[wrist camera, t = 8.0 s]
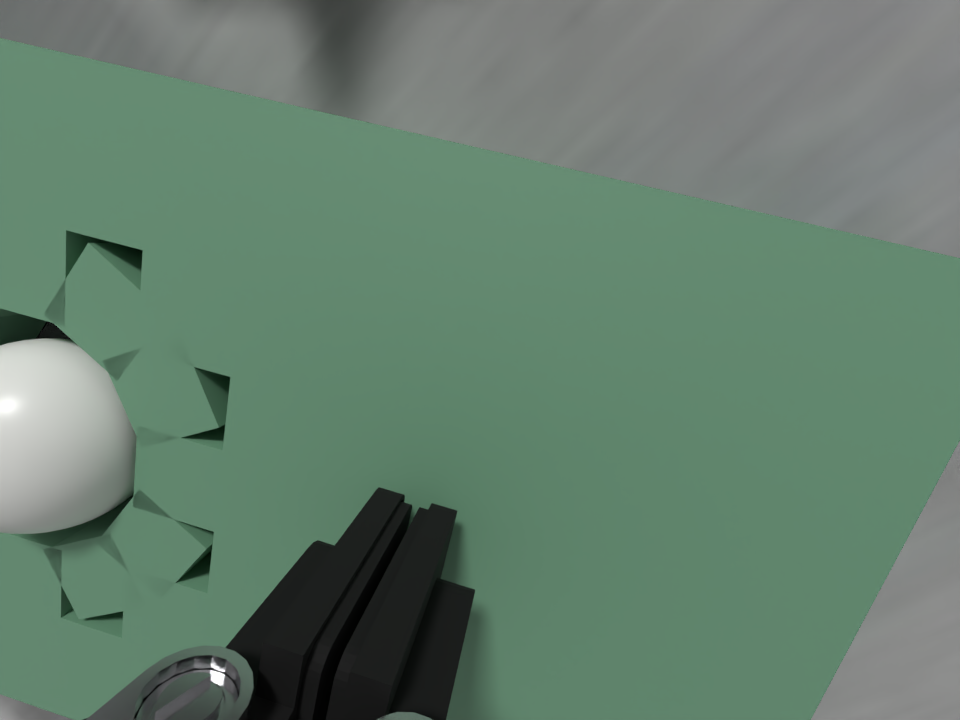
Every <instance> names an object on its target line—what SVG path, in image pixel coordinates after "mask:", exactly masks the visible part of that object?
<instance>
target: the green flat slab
mask: <svg viewBox="0 0 960 720" xmlns="http://www.w3.org/2000/svg"><path fill="white" fill-rule="evenodd" d="M47 321H48V322H51V323H54V324H55V325H56V326H57V327H58V328H59V329H60V330H62V331H63V332H64V333H65V334H66V335H67V336H68V337H69V338H70V339H72V340H73V341H74V342H75V343H76V344H77V345H78V346H79V347H80V348H82V349H83V350H84V351H85V352H86V353H87V354H88V355H89V356H90V357H91V358H93V359H94V360H95V361H96V362H97V363H98V364H99V365H100V366H101V367H103V368H104V369H105V370H106V371H107V372H108V374H109V376H110V378H111V380H112V383H113V385H114V387H115V389H116V392H117V394H118V396H119V398H120V400H121V403H122V405H123V407H124V409H125V412H126V414H127V416H128V418H129V421H130V423H131V425H132V427H133V429H134V432H135V434H136V436H137V442H136V460H135V478H134V494H133V495H131V496H130V497H129V498H128V499H127V500H125V501H124V502H123V503H121V504H120V505H118V506H117V507H115V508H114V509H112V510H110V511H109V512H107V513H105V514H103V515H101V516H99V517H97V518H95V519H93V520H90V521H88V522H85V523H83V524H80V525H77V526H73V527H70V528H66V529H61V530H56V531H51V532H45V533H36V534H10V533H0V694H1V695H4V696H7V697H10V698H13V699H16V700H19V701H21V702H24V703H27V704H30V705H33V706H36V707H39V708H42V709H44V710H47V711H50V712H53V713H56V714H59V715H62V716H65V717H67V718H70V719H73V720H83V719H86V718H89V717H90V716H91V715H92V714H93V713H95V712H96V711H97V710H98V709H99V708H101V707H102V706H103V705H104V704H105V703H107V702H108V701H109V700H110V699H111V698H113V697H114V696H115V695H116V694H117V693H119V692H120V691H121V690H122V689H123V688H125V687H126V686H127V685H128V684H129V683H131V682H132V681H133V680H134V679H135V678H137V677H138V676H139V675H140V674H141V673H143V672H144V671H145V670H146V669H148V668H149V667H151V666H152V665H154V664H155V663H157V662H158V661H160V660H161V659H163V658H164V657H166V656H169V655H171V654H173V653H176V652H178V651H181V650H183V649H187V648H193V647H198V646H221V647H224V648H225V647H226V646H227V645H228V644H229V643H230V641H231V640H232V639H233V638H234V637H235V635H236V634H237V633H238V632H239V630H240V629H241V628H242V627H243V626H244V624H245V623H246V622H247V621H248V620H249V618H250V617H251V616H252V615H253V614H254V612H255V611H256V610H257V609H258V608H259V606H260V605H261V604H262V603H263V602H264V600H265V599H266V598H267V597H268V596H269V594H270V593H271V592H272V591H273V590H274V588H275V587H276V586H277V585H278V583H279V582H280V581H281V580H282V579H283V577H284V576H285V575H286V574H287V573H288V571H289V570H290V569H291V568H292V567H293V565H294V564H295V563H296V562H297V561H298V559H299V558H300V557H301V556H302V555H303V553H304V552H305V551H306V550H307V549H308V547H309V546H310V545H311V544H312V543H313V542H315V541H317V540H319V541H322V542H325V543H328V544H332V545H335V544H336V543H337V542H338V540H339V539H340V538H341V536H342V535H343V534H344V532H345V531H346V530H347V528H348V527H349V526H350V524H351V523H352V521H353V520H354V519H355V517H356V516H357V515H358V513H359V512H360V511H361V509H362V508H363V507H364V505H365V504H366V503H367V501H368V500H369V499H370V497H371V496H372V495H373V493H374V492H375V491H376V489H377V488H378V487H380V488H384V489H387V490H390V491H394V492H397V493H400V494H404V495H405V501H404V502H405V503H408V504H411V505H412V511H411V516H410V520H409V524H408V528H409V526H410V524H411V522H412V520H413V518H414V516H415V514H416V512H417V511H418V509H419V507H421V508H425V509H429V507H430V505H431V503H434V504H437V505H440V506H444V507H447V508H450V509H454V510H457V515H456V520H455V524H454V528H453V531H452V535H451V539H450V543H449V547H448V551H447V555H446V559H445V563H444V567H443V571H442V575H441V579H443V580H446V581H449V582H452V583H456V584H459V585H462V586H465V587H468V588H472V589H475V594H474V599H473V603H472V608H471V612H470V616H469V621H468V625H467V630H466V634H465V638H464V643H463V647H462V652H461V656H460V660H459V665H458V669H457V674H456V678H455V682H454V687H453V691H452V696H451V700H450V704H449V709H448V713H447V718H446V720H811V718H812V716H813V714H814V712H815V710H816V709H817V707H818V705H819V703H820V701H821V699H822V697H823V695H824V694H825V692H826V690H827V688H828V686H829V684H830V682H831V680H832V679H833V677H834V675H835V673H836V671H837V669H838V667H839V666H840V664H841V662H842V660H843V658H844V656H845V654H846V652H847V651H848V649H849V647H850V645H851V643H852V641H853V639H854V637H855V636H856V634H857V632H858V630H859V628H860V626H861V624H862V622H863V621H864V619H865V617H866V615H867V613H868V611H869V609H870V607H871V606H872V604H873V602H874V600H875V598H876V596H877V594H878V592H879V591H880V589H881V587H882V585H883V583H884V581H885V579H886V577H887V576H888V574H889V572H890V570H891V568H892V566H893V564H894V563H895V561H896V559H897V557H898V555H899V553H900V551H901V549H902V548H903V546H904V544H905V542H906V540H907V538H908V536H909V534H910V533H911V531H912V529H913V527H914V525H915V523H916V521H917V519H918V518H919V516H920V514H921V512H922V510H923V508H924V506H925V504H926V503H927V501H928V499H929V497H930V495H931V493H932V491H933V489H934V488H935V486H936V484H937V482H938V480H939V478H940V476H941V474H942V473H943V471H944V469H945V467H946V465H947V463H948V461H949V460H950V458H951V456H952V454H953V452H954V450H955V448H956V446H957V445H958V443H959V441H960V258H956V257H952V256H947V255H943V254H939V253H934V252H930V251H926V250H921V249H917V248H913V247H908V246H904V245H900V244H895V243H891V242H886V241H882V240H878V239H873V238H869V237H865V236H860V235H856V234H852V233H847V232H843V231H839V230H834V229H830V228H825V227H821V226H817V225H812V224H808V223H804V222H799V221H795V220H791V219H786V218H782V217H777V216H773V215H769V214H764V213H760V212H756V211H751V210H747V209H743V208H738V207H734V206H730V205H725V204H721V203H716V202H712V201H708V200H703V199H699V198H695V197H690V196H686V195H682V194H677V193H673V192H669V191H664V190H660V189H655V188H651V187H647V186H642V185H638V184H634V183H629V182H625V181H621V180H616V179H612V178H607V177H603V176H599V175H594V174H590V173H586V172H581V171H577V170H573V169H568V168H564V167H560V166H555V165H551V164H546V163H542V162H538V161H533V160H529V159H525V158H520V157H516V156H512V155H507V154H503V153H498V152H494V151H490V150H485V149H481V148H477V147H472V146H468V145H464V144H459V143H455V142H451V141H446V140H442V139H437V138H433V137H429V136H424V135H420V134H416V133H411V132H407V131H403V130H398V129H394V128H390V127H385V126H381V125H376V124H372V123H368V122H363V121H359V120H355V119H350V118H346V117H342V116H337V115H333V114H328V113H324V112H320V111H315V110H311V109H307V108H302V107H298V106H294V105H289V104H285V103H281V102H276V101H272V100H267V99H263V98H259V97H254V96H250V95H246V94H241V93H237V92H233V91H228V90H224V89H219V88H215V87H211V86H206V85H202V84H198V83H193V82H189V81H185V80H180V79H176V78H172V77H167V76H163V75H158V74H154V73H150V72H145V71H141V70H137V69H132V68H128V67H124V66H119V65H115V64H111V63H106V62H102V61H97V60H93V59H89V58H84V57H80V56H76V55H71V54H67V53H63V52H58V51H54V50H49V49H45V48H41V47H36V46H32V45H28V44H23V43H19V42H15V41H10V40H6V39H2V38H0V345H3V344H7V343H12V342H17V341H22V340H31V339H36V338H37V336H38V334H39V333H40V331H41V330H42V328H43V327H44V325H45V323H46V322H47ZM407 530H408V529H407Z"/></svg>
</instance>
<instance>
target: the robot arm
mask: <svg viewBox="0 0 960 720" xmlns="http://www.w3.org/2000/svg"><path fill="white" fill-rule="evenodd" d="M404 501H405V495H404V494H400V493H397V492H394V491H390V490H387V489H384V488H380V487H378V488H377V489H376V491H375V492H374V493H373V495H372V496H371V497H370V499H369V500H368V501H367V503H366V504H365V505H364V507H363V508H362V509H361V511H360V512H359V513H358V515H357V516H356V517H355V519H354V520H353V521H352V523H351V524H350V526H349V527H348V528H347V530H346V531H345V532H344V534H343V535H342V536H341V538H340V539H339V540H338V542H337V543H336V544H335V545H332V544H328V543H325V542H322V541H319V540H317V541H315V542H313V543H312V544H311V545H310V546H309V547H308V549H307V550H306V551H305V552H304V553H303V555H302V556H301V557H300V558H299V559H298V561H297V562H296V563H295V564H294V565H293V567H292V568H291V569H290V570H289V571H288V573H287V574H286V575H285V576H284V577H283V579H282V580H281V581H280V582H279V583H278V585H277V586H276V587H275V588H274V590H273V591H272V592H271V593H270V594H269V596H268V597H267V598H266V599H265V600H264V602H263V603H262V604H261V605H260V606H259V608H258V609H257V610H256V611H255V612H254V614H253V615H252V616H251V617H250V618H249V620H248V621H247V622H246V623H245V624H244V626H243V627H242V628H241V629H240V630H239V632H238V633H237V634H236V635H235V637H234V638H233V639H232V640H231V641H230V643H229V644H228V645H227V646H226V647H225V648H224V647H221V646H198V647H193V648H187V649H183V650H181V651H178V652H176V653H173V654H171V655H169V656H166V657H164V658H163V659H161V660H160V661H158V662H157V663H155V664H154V665H152V666H151V667H149V668H148V669H146V670H145V671H144V672H143V673H141V674H140V675H139V676H138V677H137V678H135V679H134V680H133V681H132V682H131V683H129V684H128V685H127V686H126V687H125V688H123V689H122V690H121V691H120V692H119V693H117V694H116V695H115V696H114V697H113V698H111V699H110V700H109V701H108V702H107V703H105V704H104V705H103V706H102V707H101V708H99V709H98V710H97V711H96V712H95V713H93V714H92V715H91V716H90V717H89V718H86V719H83V720H446V718H447V713H448V709H449V704H450V700H451V696H452V691H453V687H454V682H455V678H456V674H457V669H458V665H459V660H460V656H461V652H462V647H463V643H464V638H465V634H466V630H467V625H468V621H469V616H470V612H471V608H472V603H473V599H474V594H475V589H472V588H468V587H465V586H462V585H459V584H456V583H452V582H449V581H446V580H443V579H441V575H442V571H443V567H444V563H445V559H446V555H447V551H448V547H449V543H450V539H451V535H452V531H453V528H454V524H455V520H456V515H457V510H454V509H450V508H447V507H444V506H440V505H437V504H434V503H431V505H430V507H429V509H425V508H421V507H419V509H418V511H417V512H416V514H415V516H414V518H413V520H412V522H411V524H410V526H409V528H408V524H409V520H410V516H411V511H412V505H411V504H408V503H405V502H404ZM407 529H408V530H407Z"/></svg>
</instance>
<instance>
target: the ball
mask: <svg viewBox="0 0 960 720" xmlns="http://www.w3.org/2000/svg"><path fill="white" fill-rule="evenodd" d="M136 442H137V436H136V434H135V432H134V429H133V427H132V425H131V423H130V421H129V418H128V416H127V414H126V412H125V409H124V407H123V405H122V403H121V400H120V398H119V396H118V394H117V392H116V389H115V387H114V385H113V383H112V380H111V378H110V376H109V374H108V372H107V371H106V370H105V369H104V368H103V367H101V366H100V365H99V364H98V363H97V362H96V361H95V360H94V359H93V358H91V357H90V356H89V355H88V354H87V353H86V352H85V351H84V350H83V349H82V348H80V347H79V346H78V345H77V344H76V343H75V342H74V341H73V340H70V339H60V338H43V339H31V340H22V341H17V342H12V343H7V344H3V345H0V533H10V534H36V533H45V532H51V531H56V530H61V529H66V528H70V527H73V526H77V525H80V524H83V523H85V522H88V521H90V520H93V519H95V518H97V517H99V516H101V515H103V514H105V513H107V512H109V511H110V510H112V509H114V508H115V507H117V506H118V505H120V504H121V503H123V502H124V501H125V500H127V499H128V498H129V497H130V496H131V495H133V494H134V478H135V460H136Z"/></svg>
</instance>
